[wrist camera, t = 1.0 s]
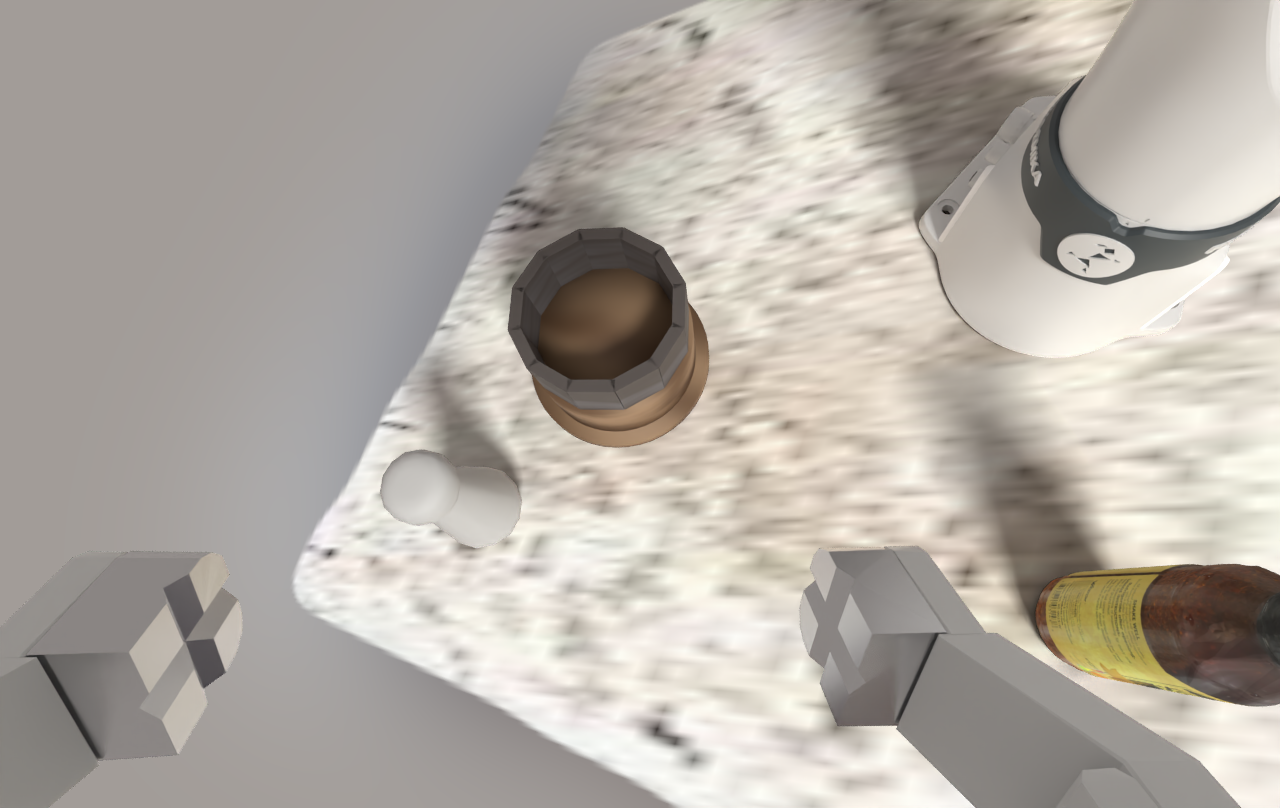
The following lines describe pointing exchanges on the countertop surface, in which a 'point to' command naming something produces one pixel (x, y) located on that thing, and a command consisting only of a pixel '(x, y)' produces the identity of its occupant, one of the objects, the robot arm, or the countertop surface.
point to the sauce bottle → (1171, 628)
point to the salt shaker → (451, 497)
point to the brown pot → (609, 337)
